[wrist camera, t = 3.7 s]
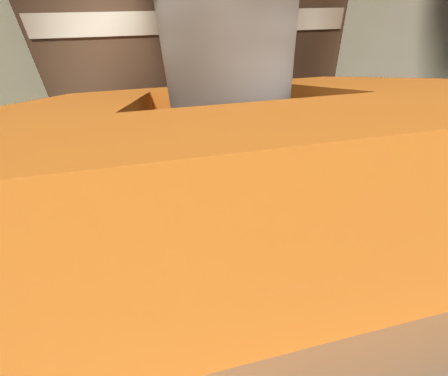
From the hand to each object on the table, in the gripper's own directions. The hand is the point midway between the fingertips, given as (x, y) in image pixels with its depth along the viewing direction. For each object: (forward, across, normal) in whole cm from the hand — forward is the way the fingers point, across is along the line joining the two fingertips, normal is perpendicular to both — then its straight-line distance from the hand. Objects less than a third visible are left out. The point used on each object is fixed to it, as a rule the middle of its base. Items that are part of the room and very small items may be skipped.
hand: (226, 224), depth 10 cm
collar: (+3, 0, -4) cm, 5 cm away
